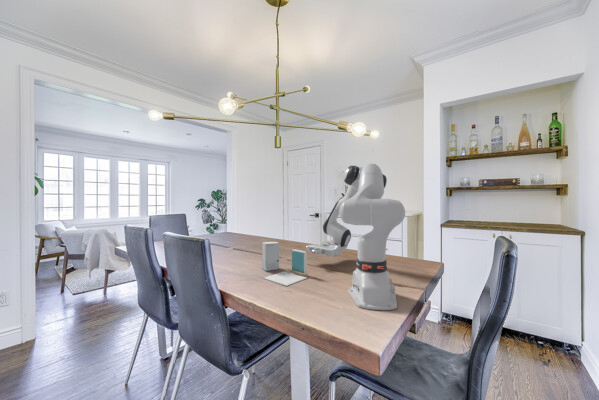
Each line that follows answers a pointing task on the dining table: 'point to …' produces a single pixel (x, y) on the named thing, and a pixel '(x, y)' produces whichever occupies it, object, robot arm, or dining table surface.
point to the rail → (297, 273)
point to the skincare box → (270, 256)
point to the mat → (285, 278)
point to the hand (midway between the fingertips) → (313, 252)
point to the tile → (299, 261)
